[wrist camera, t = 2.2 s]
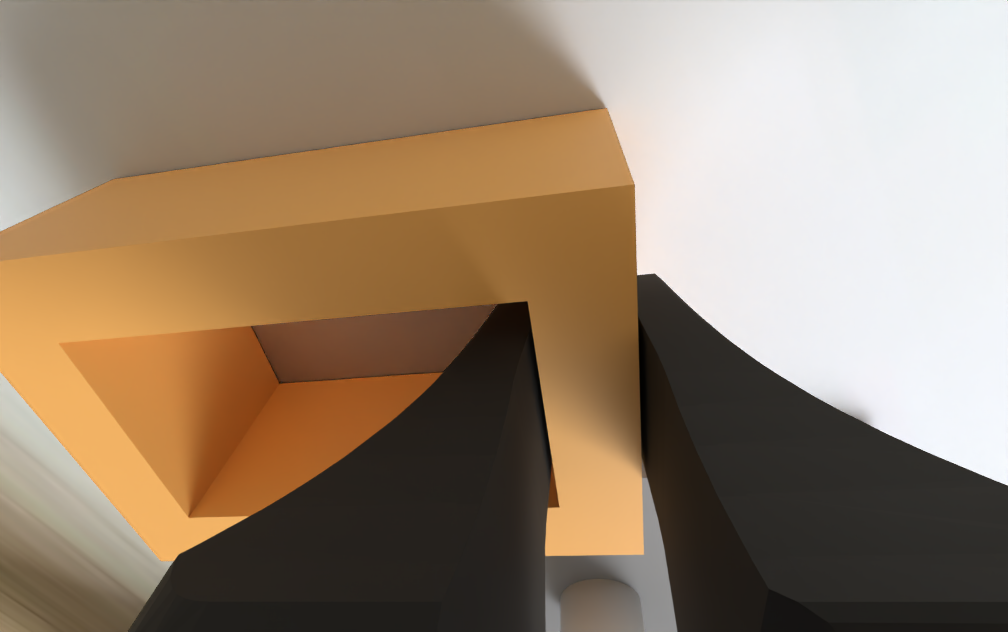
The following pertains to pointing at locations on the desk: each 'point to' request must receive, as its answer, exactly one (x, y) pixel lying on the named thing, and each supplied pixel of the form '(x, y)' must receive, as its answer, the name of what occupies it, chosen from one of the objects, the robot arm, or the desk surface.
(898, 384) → the desk surface
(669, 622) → the plate
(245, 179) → the link
